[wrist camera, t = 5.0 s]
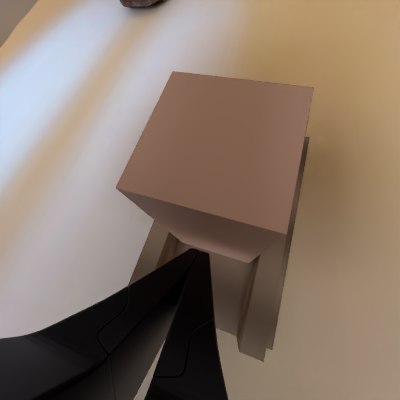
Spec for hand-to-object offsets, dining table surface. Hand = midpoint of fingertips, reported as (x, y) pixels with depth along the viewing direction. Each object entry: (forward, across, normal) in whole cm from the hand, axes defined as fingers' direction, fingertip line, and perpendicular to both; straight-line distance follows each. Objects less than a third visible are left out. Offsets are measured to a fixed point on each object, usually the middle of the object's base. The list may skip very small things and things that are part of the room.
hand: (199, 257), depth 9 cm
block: (+7, 0, +2) cm, 7 cm away
